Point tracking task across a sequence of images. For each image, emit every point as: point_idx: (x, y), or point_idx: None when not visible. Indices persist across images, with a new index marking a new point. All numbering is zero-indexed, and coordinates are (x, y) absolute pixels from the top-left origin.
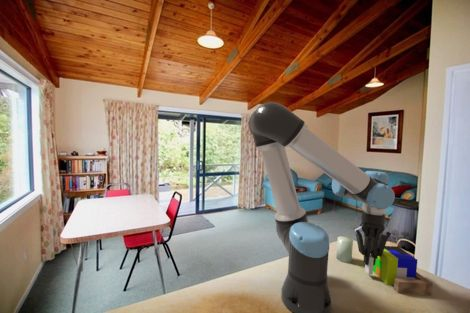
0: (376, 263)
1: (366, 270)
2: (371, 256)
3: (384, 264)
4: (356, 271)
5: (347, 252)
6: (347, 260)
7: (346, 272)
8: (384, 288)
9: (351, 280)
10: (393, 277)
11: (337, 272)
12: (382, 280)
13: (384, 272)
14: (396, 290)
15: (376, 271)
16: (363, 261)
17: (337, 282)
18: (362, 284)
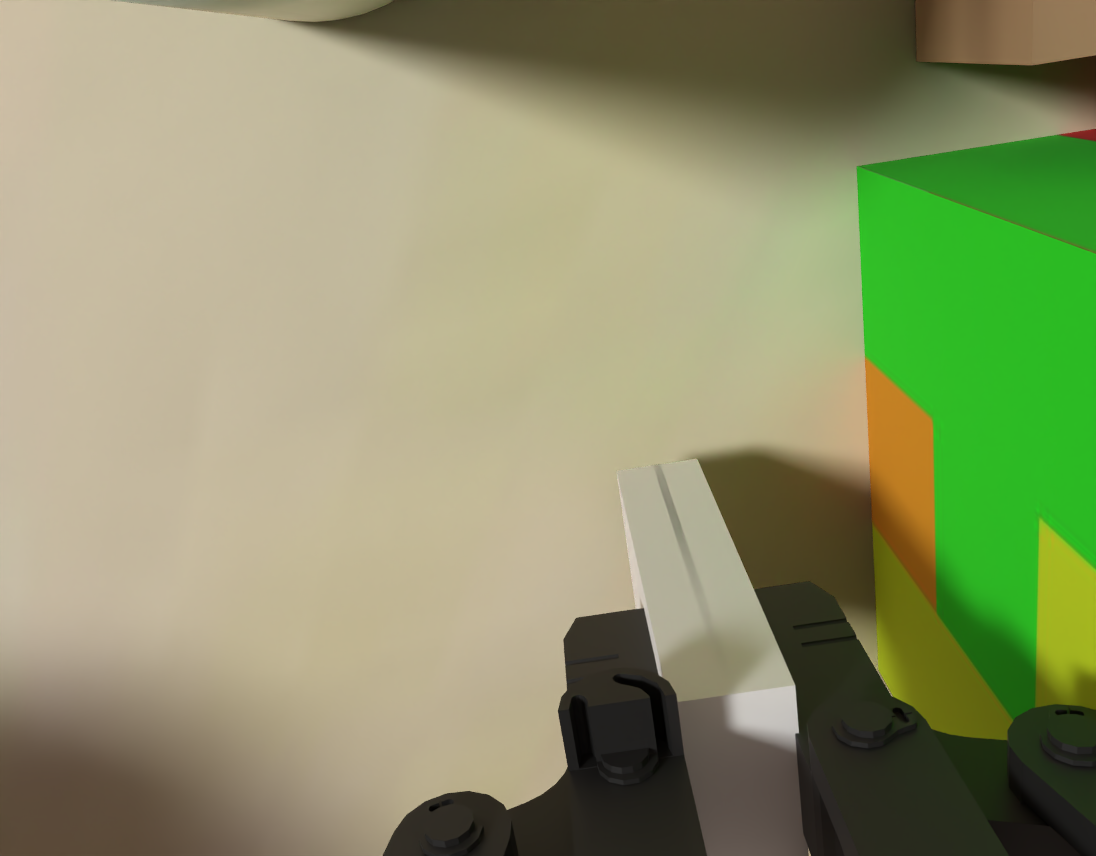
0: (955, 444)
1: (628, 544)
2: (784, 805)
3: None
4: (470, 378)
5: (263, 8)
6: (337, 14)
7: (246, 474)
8: None
9: (289, 705)
10: None
11: (62, 521)
12: (874, 568)
13: (945, 716)
14: None
15: (885, 400)
16: (564, 638)
17: (40, 813)
18: (450, 765)
